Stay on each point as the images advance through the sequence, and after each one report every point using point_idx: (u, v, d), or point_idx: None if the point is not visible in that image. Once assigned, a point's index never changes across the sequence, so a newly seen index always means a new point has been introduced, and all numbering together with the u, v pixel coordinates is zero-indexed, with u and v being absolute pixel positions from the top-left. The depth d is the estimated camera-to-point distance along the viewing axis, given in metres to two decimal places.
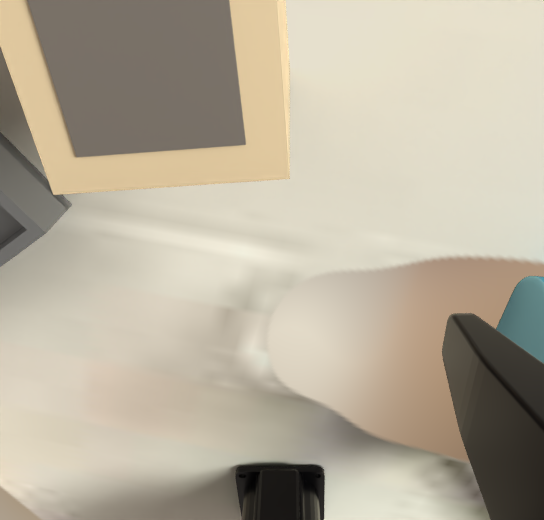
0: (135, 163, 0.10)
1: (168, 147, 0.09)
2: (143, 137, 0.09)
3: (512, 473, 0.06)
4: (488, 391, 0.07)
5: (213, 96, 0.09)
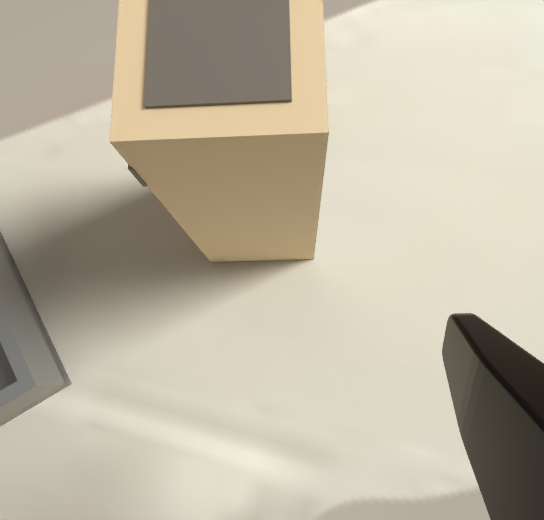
0: (192, 115, 0.11)
1: (224, 104, 0.11)
2: (205, 94, 0.11)
3: (512, 473, 0.06)
4: (488, 391, 0.07)
5: (269, 62, 0.11)
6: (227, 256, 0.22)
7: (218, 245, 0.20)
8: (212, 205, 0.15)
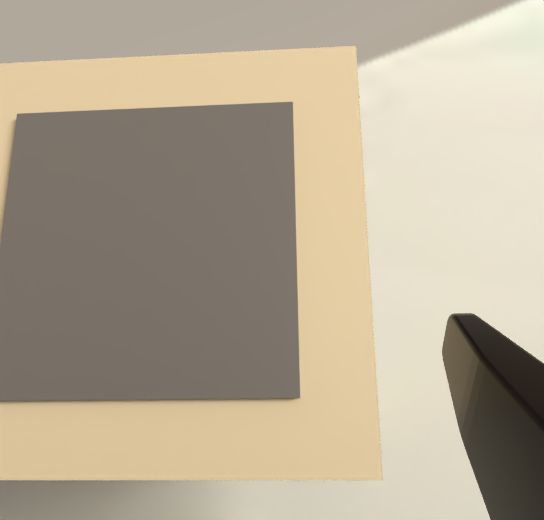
0: (84, 423, 0.05)
1: (154, 396, 0.05)
2: (115, 371, 0.05)
3: (512, 473, 0.06)
4: (488, 391, 0.07)
5: (252, 304, 0.05)
6: None
7: None
8: None
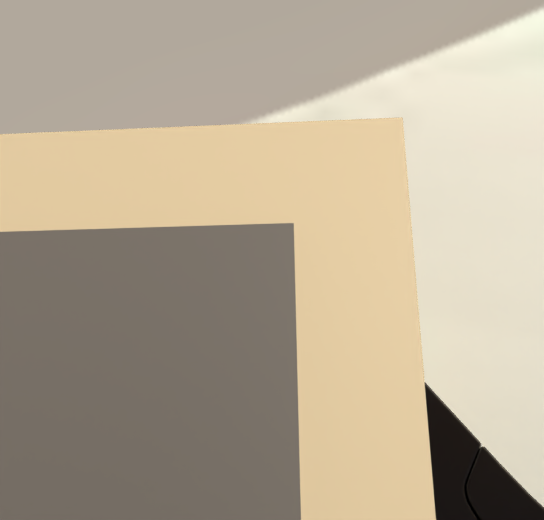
0: None
1: None
2: None
3: None
4: None
5: None
6: None
7: None
8: None
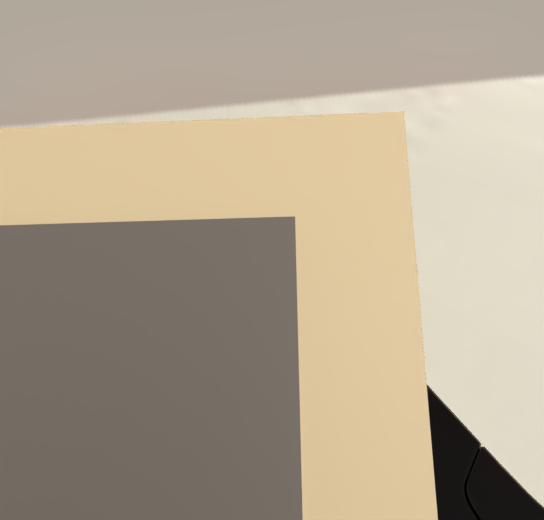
0: None
1: None
2: None
3: None
4: None
5: None
6: None
7: None
8: None
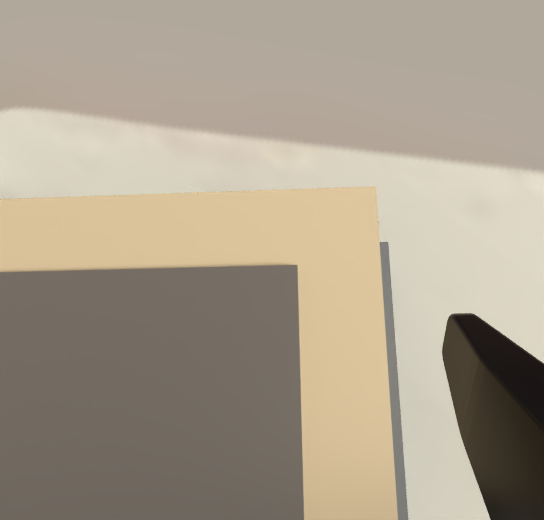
0: None
1: None
2: None
3: (512, 473, 0.06)
4: (488, 391, 0.07)
5: None
6: None
7: None
8: None
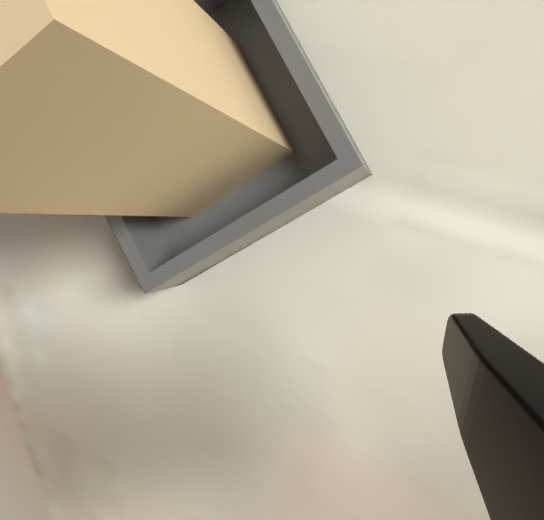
0: None
1: None
2: None
3: (512, 473, 0.06)
4: (488, 391, 0.07)
5: None
6: (200, 204, 0.18)
7: (174, 203, 0.16)
8: (92, 182, 0.11)
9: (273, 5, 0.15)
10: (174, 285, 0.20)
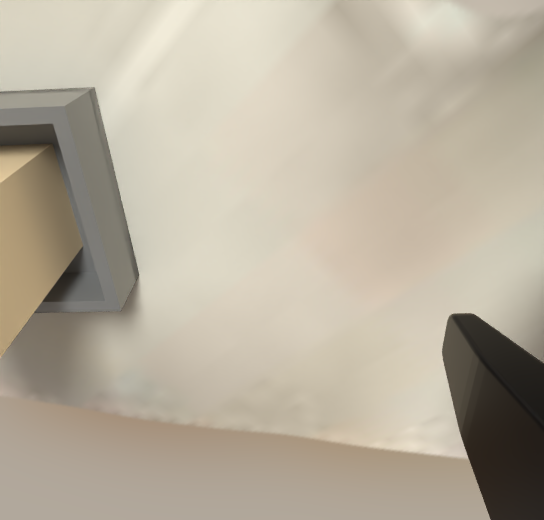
0: None
1: None
2: None
3: (512, 473, 0.06)
4: (488, 391, 0.07)
5: None
6: (68, 238, 0.21)
7: (51, 262, 0.20)
8: None
9: None
10: (133, 282, 0.23)
